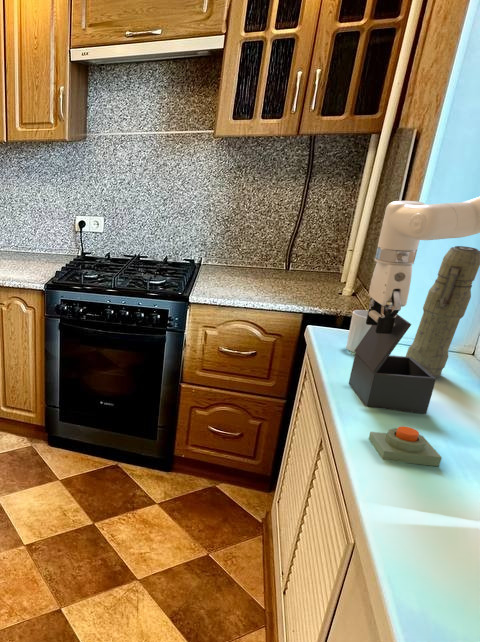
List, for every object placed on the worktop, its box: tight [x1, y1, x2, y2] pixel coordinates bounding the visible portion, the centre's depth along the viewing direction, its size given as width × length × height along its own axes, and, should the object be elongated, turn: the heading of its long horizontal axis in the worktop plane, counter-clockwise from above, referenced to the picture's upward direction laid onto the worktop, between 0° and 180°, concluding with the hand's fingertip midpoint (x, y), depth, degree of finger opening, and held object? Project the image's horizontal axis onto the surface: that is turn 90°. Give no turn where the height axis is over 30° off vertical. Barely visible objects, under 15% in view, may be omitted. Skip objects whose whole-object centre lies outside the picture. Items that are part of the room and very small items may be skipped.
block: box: [368, 427, 443, 467], centre depth 110 cm, size 10×8×4 cm
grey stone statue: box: [405, 245, 480, 378], centre depth 142 cm, size 9×12×35 cm
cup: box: [345, 309, 372, 353], centre depth 161 cm, size 8×8×12 cm
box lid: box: [354, 307, 412, 373], centre depth 129 cm, size 13×14×5 cm
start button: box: [396, 426, 420, 442], centre depth 109 cm, size 4×4×2 cm
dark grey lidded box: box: [348, 352, 437, 415], centre depth 132 cm, size 13×14×9 cm
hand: (378, 328), depth 128 cm, fingers closed on box lid, 5 cm apart
